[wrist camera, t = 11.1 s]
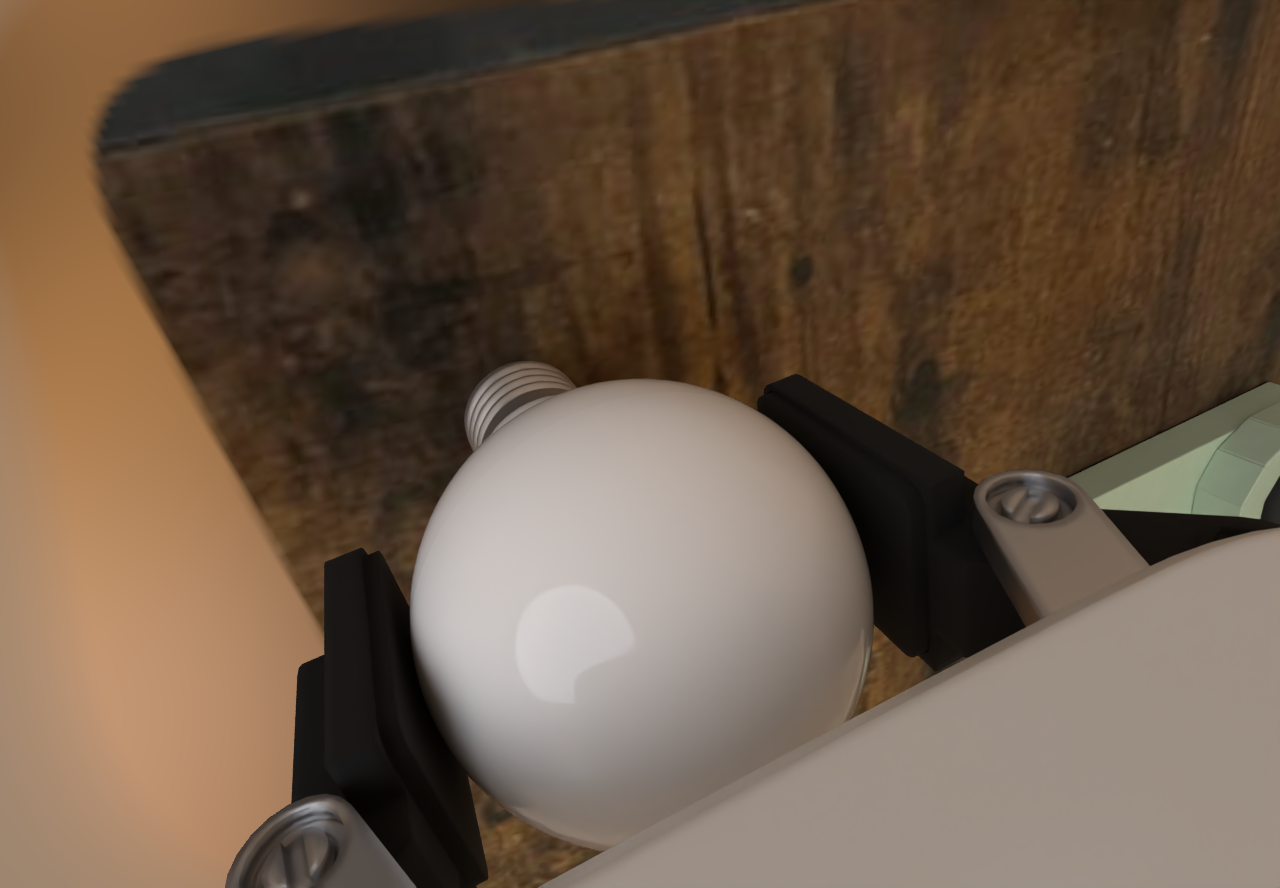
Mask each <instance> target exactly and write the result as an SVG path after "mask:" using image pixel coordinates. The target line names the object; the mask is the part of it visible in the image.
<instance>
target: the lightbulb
mask: <svg viewBox="0 0 1280 888" xmlns="http://www.w3.org/2000/svg"><path fill="white" fill-rule="evenodd" d="M465 430H466V434H467V437H468V440H469V443H470V446H471V448H472V450H473V453H472V454H471V455H470V456H469V458H468V459H467V460H466V461H465V462H464V463H463V465H462V466H461V467H460V468H459V470H458V471H457V472H456V474H455V475H454V477H453V478H452V479H451V481H450V483H449V484H448V486H447V487H446V489H445V490H444V492H443V494H442V495H441V497H440V499H439V501H438V503H437V505H436V507H435V508H434V511H433V513H432V515H431V517H430V519H429V522H428V524H427V526H426V529H425V532H424V535H423V537H422V540H421V543H420V546H419V550H418V554H417V558H416V562H415V567H414V571H413V577H412V584H411V593H410V609H409V625H410V641H411V650H412V656H413V662H414V668H415V672H416V676H417V680H418V684H419V687H420V690H421V693H422V696H423V699H424V702H425V705H426V707H427V710H428V712H429V714H430V716H431V719H432V721H433V723H434V725H435V727H436V729H437V731H438V732H439V734H440V736H441V738H442V740H443V741H444V743H445V745H446V746H447V748H448V749H449V751H450V752H451V754H452V755H453V756H454V758H455V759H456V761H457V762H458V763H459V765H460V766H461V767H462V768H463V770H464V771H465V772H466V773H467V774H468V776H469V777H470V778H471V779H472V780H473V781H474V782H475V783H476V784H477V785H478V786H479V787H480V788H481V789H482V790H483V791H484V792H485V793H486V794H487V795H488V796H489V797H490V798H491V799H493V800H494V801H495V802H496V803H497V804H499V805H500V806H501V807H502V808H504V809H505V810H506V811H508V812H509V813H511V814H512V815H513V816H515V817H516V818H518V819H519V820H521V821H523V822H524V823H526V824H528V825H530V826H531V827H533V828H535V829H537V830H539V831H541V832H543V833H545V834H547V835H549V836H552V837H554V838H556V839H559V840H562V841H564V842H567V843H570V844H573V845H577V846H580V847H584V848H587V849H592V850H597V851H602V852H604V851H606V850H608V849H610V848H612V847H614V846H616V845H617V844H619V843H621V842H623V841H625V840H627V839H629V838H630V837H632V836H634V835H636V834H638V833H640V832H641V831H643V830H645V829H647V828H649V827H651V826H653V825H654V824H656V823H658V822H660V821H662V820H664V819H666V818H667V817H669V816H671V815H673V814H675V813H677V812H679V811H680V810H682V809H684V808H686V807H688V806H690V805H692V804H693V803H695V802H697V801H699V800H701V799H703V798H705V797H706V796H708V795H710V794H712V793H714V792H716V791H718V790H719V789H721V788H723V787H725V786H727V785H729V784H731V783H733V782H734V781H736V780H738V779H740V778H742V777H744V776H746V775H748V774H749V773H751V772H753V771H755V770H757V769H759V768H761V767H763V766H764V765H766V764H768V763H770V762H772V761H774V760H776V759H778V758H779V757H781V756H783V755H785V754H787V753H789V752H791V751H793V750H794V749H796V748H798V747H800V746H802V745H804V744H806V743H808V742H809V741H811V740H813V739H815V738H817V737H819V736H821V735H823V734H824V733H826V732H828V731H830V730H832V729H834V728H836V727H838V726H840V725H841V724H843V723H845V722H847V721H849V720H851V719H852V717H853V715H854V712H855V710H856V707H857V705H858V702H859V699H860V697H861V694H862V690H863V687H864V684H865V680H866V676H867V672H868V668H869V663H870V657H871V651H872V643H873V630H874V604H873V591H872V583H871V576H870V571H869V566H868V562H867V558H866V554H865V550H864V547H863V544H862V541H861V538H860V535H859V532H858V530H857V527H856V525H855V522H854V520H853V518H852V516H851V514H850V511H849V509H848V507H847V506H846V504H845V502H844V500H843V498H842V496H841V495H840V493H839V491H838V490H837V488H836V487H835V485H834V484H833V482H832V480H831V479H830V478H829V476H828V475H827V473H826V472H825V471H824V469H823V468H822V467H821V466H820V464H819V463H818V462H817V461H816V460H815V458H814V457H813V456H812V455H811V454H810V453H809V452H808V451H807V450H806V449H805V448H804V447H803V446H802V445H801V444H800V443H799V442H798V441H797V440H796V439H795V438H794V437H793V436H792V435H791V434H789V433H788V432H787V431H786V430H784V429H783V428H782V427H781V426H779V425H778V424H777V423H775V422H774V421H773V420H771V419H770V418H768V417H767V416H765V415H764V414H762V413H760V412H759V411H757V410H755V409H754V408H752V407H750V406H748V405H746V404H744V403H742V402H740V401H738V400H736V399H734V398H732V397H729V396H727V395H725V394H722V393H719V392H716V391H713V390H711V389H707V388H704V387H700V386H696V385H692V384H688V383H683V382H677V381H670V380H661V379H621V380H612V381H605V382H599V383H594V384H590V385H585V386H582V387H578V388H577V387H576V386H575V385H574V384H573V383H572V381H571V380H570V379H569V378H568V377H567V376H566V375H565V374H564V373H563V372H562V371H560V370H559V369H557V368H555V367H553V366H551V365H549V364H546V363H542V362H537V361H518V362H513V363H509V364H506V365H504V366H501V367H499V368H497V369H495V370H494V371H492V372H491V373H489V374H488V375H487V376H486V377H484V378H483V379H482V380H481V381H480V383H479V384H478V385H477V386H476V388H475V389H474V390H473V392H472V394H471V396H470V398H469V400H468V403H467V406H466V410H465Z"/></svg>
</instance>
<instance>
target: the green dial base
mask: <svg viewBox="0 0 1280 888" xmlns="http://www.w3.org/2000/svg"><path fill="white" fill-rule="evenodd" d="M1279 476H1280V385H1278V384H1274V383H1271V382H1267V383H1265V384H1263V385H1261V386H1259V387H1257V388H1255V389H1253V390H1251V391H1249V392H1247V393H1244V394H1242V395H1240V396H1238V397H1236V398H1234V399H1232V400H1230V401H1228V402H1226V403H1224V404H1221V405H1219V406H1217V407H1215V408H1213V409H1211V410H1209V411H1207V412H1205V413H1203V414H1201V415H1198V416H1196V417H1194V418H1192V419H1190V420H1188V421H1186V422H1184V423H1182V424H1180V425H1178V426H1176V427H1173V428H1171V429H1169V430H1167V431H1165V432H1163V433H1161V434H1159V435H1157V436H1155V437H1153V438H1150V439H1148V440H1146V441H1144V442H1142V443H1140V444H1138V445H1136V446H1134V447H1132V448H1130V449H1127V450H1125V451H1123V452H1121V453H1119V454H1117V455H1115V456H1113V457H1111V458H1109V459H1107V460H1104V461H1102V462H1100V463H1098V464H1096V465H1094V466H1092V467H1090V468H1088V469H1086V470H1084V471H1082V472H1079V473H1077V474H1075V475H1073V476H1071V477H1069V478H1068V479H1070V480H1072V481H1074V482H1076V483H1077V484H1078V485H1079V486H1080V487H1082V488H1083V489H1084V490H1085V491H1086V492H1087V493H1088V495H1089V496H1090V497H1091V498H1092V499H1093V500H1094V502H1095V503H1096V504H1097V505H1098V506H1099V507H1100V509H1111V510H1129V511H1147V512H1165V513H1184V514H1202V515H1220V516H1238V517H1247V518H1254V519H1260V518H1261V514H1262V510H1263V505H1264V502H1265V500H1266V498H1267V496H1268V495H1269V493H1270V491H1271V490H1272V488H1273V486H1274V485H1275V483H1276V481H1277V479H1278V478H1279Z"/></svg>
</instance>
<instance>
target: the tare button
mask: <svg viewBox="0 0 1280 888" xmlns="http://www.w3.org/2000/svg"><path fill="white" fill-rule="evenodd" d="M1260 519H1261V520H1265V521H1269V522H1272V523H1276V524H1280V476H1279V478H1278V479H1277V481H1276V483H1275V485H1274V486H1273V488H1272V490H1271V491H1270V493H1269V495H1268V496H1267V498H1266V500H1265V502H1264V505H1263V510H1262V514H1261V518H1260Z"/></svg>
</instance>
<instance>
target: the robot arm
mask: <svg viewBox="0 0 1280 888" xmlns="http://www.w3.org/2000/svg"><path fill="white" fill-rule="evenodd" d="M757 404H758V411H759V412H760V413H762V414H764V415H765V416H767V417H768V418H770V419H771V420H773V421H774V422H775V423H777V424H778V425H779V426H781V427H782V428H783V429H784V430H786V431H787V432H788V433H789V434H791V435H792V436H793V437H794V438H795V439H796V440H797V441H798V442H799V443H800V444H801V445H802V446H803V447H804V448H805V449H806V450H807V451H808V452H809V453H810V454H811V455H812V456H813V457H814V458H815V460H816V461H817V462H818V463H819V464H820V466H821V467H822V468H823V469H824V471H825V472H826V473H827V475H828V476H829V478H830V479H831V480H832V482H833V484H834V485H835V487H836V488H837V490H838V491H839V493H840V495H841V496H842V498H843V500H844V502H845V504H846V506H847V507H848V509H849V511H850V514H851V516H852V518H853V520H854V522H855V525H856V527H857V530H858V532H859V535H860V538H861V541H862V544H863V547H864V550H865V554H866V558H867V562H868V566H869V571H870V576H871V583H872V591H873V604H874V625H875V626H876V627H877V628H878V629H880V630H881V631H882V632H883V633H884V634H885V635H886V636H887V637H888V638H889V639H890V640H891V641H892V642H893V643H894V644H895V645H896V646H897V647H898V648H899V649H900V650H901V651H902V652H904V653H905V654H906V655H907V656H910V657H915V656H917V655H918V656H919V657H920V658H921V659H923V660H924V661H925V662H926V663H927V664H928V665H929V666H930V667H931V668H932V669H933V670H934V671H937V670H939V669H941V668H943V667H945V666H947V665H949V664H951V663H952V662H954V661H956V660H958V659H960V658H962V657H967V659H965V660H963V661H961V662H959V663H957V664H955V665H953V666H951V667H949V668H947V669H946V670H944V671H942V672H940V673H938V674H936V675H934V676H932V677H930V678H928V679H926V680H925V681H923V682H921V683H919V684H917V685H915V686H913V687H911V688H909V689H907V690H906V691H904V692H902V693H900V694H898V695H896V696H894V697H892V698H890V699H889V700H887V701H885V702H883V703H881V704H879V705H877V706H875V707H873V708H872V709H870V710H868V711H866V712H864V713H862V714H860V715H858V716H857V717H855V718H853V719H851V720H849V721H847V722H845V723H843V724H841V725H840V726H838V727H836V728H834V729H832V730H830V731H828V732H826V733H824V734H823V735H821V736H819V737H817V738H815V739H813V740H811V741H809V742H808V743H806V744H804V745H802V746H800V747H798V748H796V749H794V750H793V751H791V752H789V753H787V754H785V755H783V756H781V757H779V758H778V759H776V760H774V761H772V762H770V763H768V764H766V765H764V766H763V767H761V768H759V769H757V770H755V771H753V772H751V773H749V774H748V775H746V776H744V777H742V778H740V779H738V780H736V781H734V782H733V783H731V784H729V785H727V786H725V787H723V788H721V789H719V790H718V791H716V792H714V793H712V794H710V795H708V796H706V797H705V798H703V799H701V800H699V801H697V802H695V803H693V804H692V805H690V806H688V807H686V808H684V809H682V810H680V811H679V812H677V813H675V814H673V815H671V816H669V817H667V818H666V819H664V820H662V821H660V822H658V823H656V824H654V825H653V826H651V827H649V828H647V829H645V830H643V831H641V832H640V833H638V834H636V835H634V836H632V837H630V838H629V839H627V840H625V841H623V842H621V843H619V844H617V845H616V846H614V847H612V848H610V849H608V850H606V851H604V852H603V853H601V854H599V855H597V856H595V857H593V858H591V859H590V860H588V861H586V862H584V863H582V864H580V865H578V866H577V867H575V868H573V869H571V870H569V871H567V872H565V873H564V874H562V875H560V876H558V877H556V878H554V879H552V880H551V881H549V882H547V883H545V884H543V885H541V886H540V887H538V888H1280V524H1276V523H1272V522H1269V521H1265V520H1261V519H1254V518H1247V517H1238V516H1220V515H1202V514H1184V513H1165V512H1147V511H1129V510H1111V509H1100V507H1099V506H1098V505H1097V504H1096V503H1095V502H1094V500H1093V499H1092V498H1091V497H1090V496H1089V495H1088V493H1087V492H1086V491H1085V490H1084V489H1083V488H1082V487H1080V486H1079V485H1078V484H1077V483H1076V482H1074V481H1072V480H1070V479H1068V478H1066V477H1064V476H1061V475H1059V474H1055V473H1051V472H1047V471H1042V470H1030V469H1021V470H1009V471H1005V472H1001V473H997V474H994V475H992V476H990V477H988V478H986V479H984V480H983V481H982V482H981V483H980V484H977V483H975V482H973V481H972V480H970V479H968V478H967V477H965V476H964V471H963V470H962V469H960V468H958V467H956V466H955V465H953V464H951V463H950V462H948V461H946V460H944V459H943V458H941V457H939V456H938V455H936V454H934V453H932V452H931V451H929V450H927V449H926V448H924V447H922V446H920V445H919V444H917V443H915V442H914V441H912V440H910V439H908V438H907V437H905V436H903V435H902V434H900V433H898V432H896V431H895V430H893V429H891V428H890V427H888V426H886V425H884V424H883V423H881V422H879V421H878V420H876V419H874V418H872V417H871V416H869V415H867V414H866V413H864V412H862V411H860V410H859V409H857V408H855V407H854V406H852V405H850V404H848V403H847V402H845V401H843V400H842V399H840V398H838V397H836V396H835V395H833V394H831V393H830V392H828V391H826V390H824V389H823V388H821V387H819V386H818V385H816V384H814V383H812V382H811V381H809V380H807V379H806V378H804V377H802V376H800V375H798V374H794V375H791V376H789V377H786V378H784V379H781V380H779V381H776V382H774V383H771V384H769V385H767V386H766V387H765V389H764V395H763V396H761V397H759V398H758V402H757ZM409 609H410V607H409V606H408V604H407V602H406V600H405V598H404V596H403V594H402V592H401V590H400V588H399V586H398V584H397V582H396V580H395V578H394V576H393V574H392V573H391V571H390V569H389V567H388V565H387V563H386V561H385V559H384V557H383V555H382V554H381V552H380V551H377V552H374V553H372V554H369V555H368V554H367V553H366V551H365V550H364V549H363V548H359V549H357V550H354V551H352V552H349V553H347V554H344V555H342V556H339V557H337V558H334V559H332V560H329V561H327V562H325V566H324V655H322V656H320V657H318V658H315V659H313V660H311V661H308V662H306V663H304V664H302V665H301V666H300V667H299V670H298V675H297V696H296V717H295V739H294V759H293V783H292V802H291V804H289V805H287V806H286V807H285V808H283V809H281V810H280V811H279V812H277V813H276V814H274V815H273V816H271V817H270V818H268V819H267V821H265V822H264V823H263V824H262V825H261V826H260V827H259V828H258V829H257V830H256V831H255V832H254V833H253V834H252V835H251V836H250V837H249V839H248V840H247V841H246V843H245V844H244V846H243V847H242V848H241V850H240V851H239V853H238V854H237V856H236V858H235V860H234V862H233V864H232V866H231V868H230V871H229V873H228V875H227V880H226V885H225V888H476V885H478V884H480V883H482V882H484V881H486V880H488V870H487V865H486V860H485V855H484V851H483V846H482V841H481V837H480V832H479V827H478V822H477V818H476V813H475V808H474V803H473V799H472V794H471V789H470V785H469V780H468V775H467V773H466V772H465V771H464V770H463V768H462V767H461V766H460V765H459V763H458V762H457V761H456V759H455V758H454V756H453V755H452V754H451V752H450V751H449V749H448V748H447V746H446V745H445V743H444V741H443V740H442V738H441V736H440V734H439V732H438V731H437V729H436V727H435V725H434V723H433V721H432V719H431V716H430V714H429V712H428V710H427V707H426V705H425V702H424V699H423V696H422V693H421V690H420V687H419V684H418V680H417V676H416V672H415V668H414V662H413V656H412V650H411V641H410V625H409Z"/></svg>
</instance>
